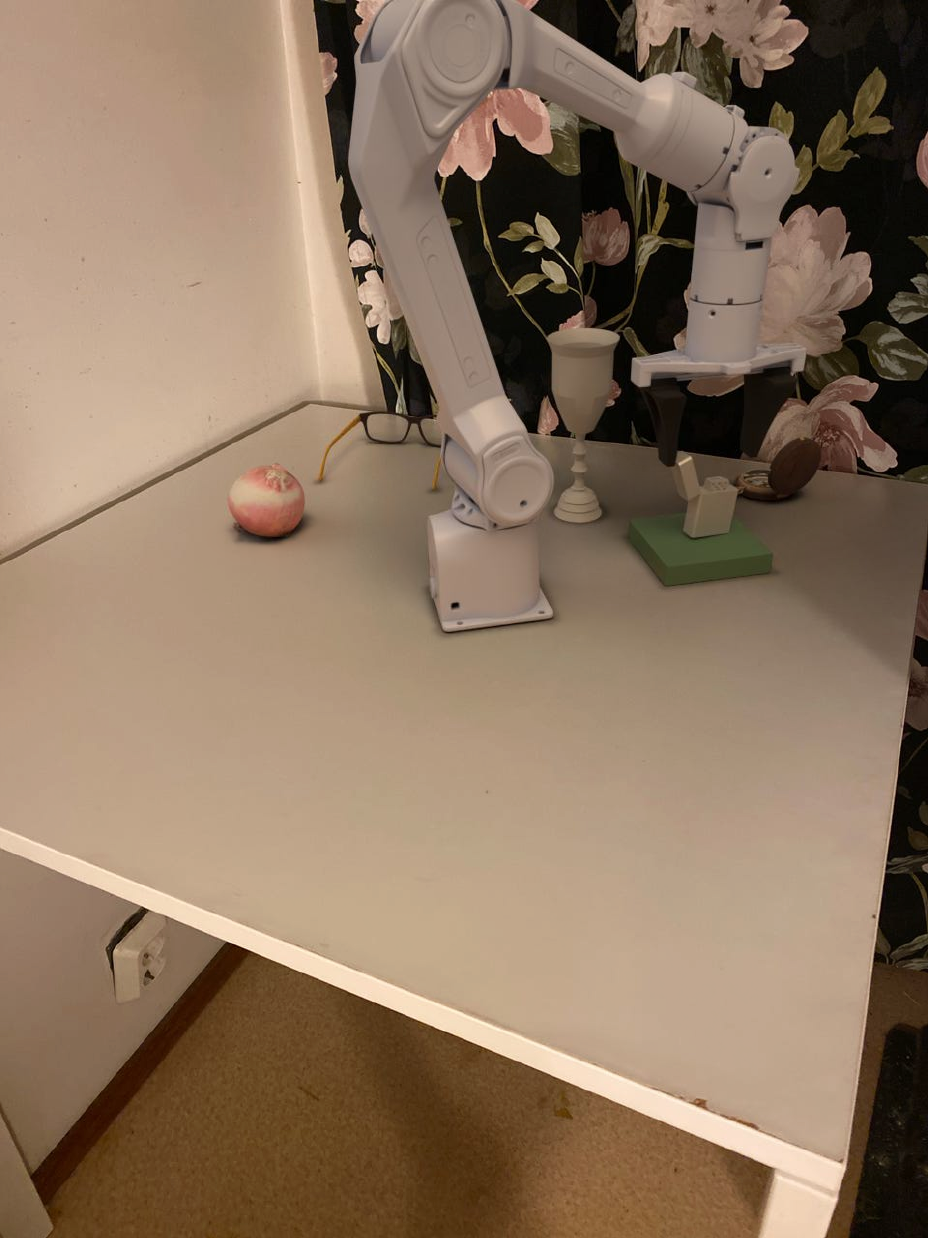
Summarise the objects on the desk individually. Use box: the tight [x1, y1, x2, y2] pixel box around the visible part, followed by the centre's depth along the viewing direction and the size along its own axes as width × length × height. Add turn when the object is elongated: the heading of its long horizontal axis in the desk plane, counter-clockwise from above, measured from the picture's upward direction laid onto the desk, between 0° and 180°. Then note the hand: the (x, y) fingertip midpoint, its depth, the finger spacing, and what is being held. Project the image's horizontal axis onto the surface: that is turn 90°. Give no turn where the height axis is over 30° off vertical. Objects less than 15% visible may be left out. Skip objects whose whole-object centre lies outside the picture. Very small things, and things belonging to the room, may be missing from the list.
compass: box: [733, 434, 822, 501], centre depth 91 cm, size 8×8×7 cm
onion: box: [227, 462, 306, 538], centre depth 88 cm, size 8×8×7 cm
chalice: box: [546, 327, 621, 524], centre depth 86 cm, size 7×7×18 cm
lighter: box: [670, 450, 739, 538], centre depth 78 cm, size 7×2×8 cm, turn 111°
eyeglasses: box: [318, 410, 441, 491], centre depth 104 cm, size 14×14×4 cm
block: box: [627, 512, 774, 587], centre depth 81 cm, size 10×10×2 cm
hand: (707, 458), depth 76 cm, fingers open, 7 cm apart
